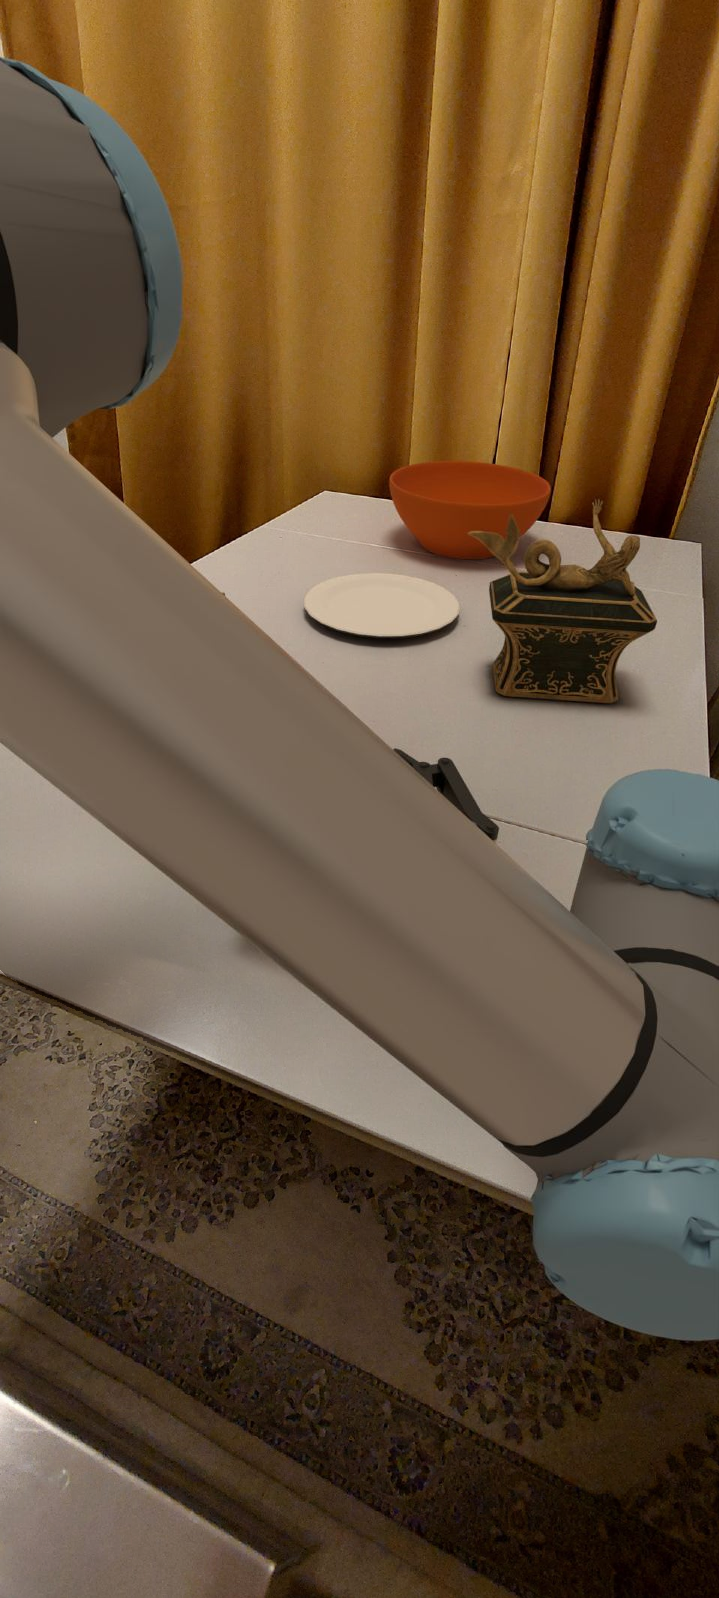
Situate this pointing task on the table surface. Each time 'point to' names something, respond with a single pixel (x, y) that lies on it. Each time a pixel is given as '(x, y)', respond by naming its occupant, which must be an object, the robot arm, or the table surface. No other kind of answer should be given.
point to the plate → (381, 605)
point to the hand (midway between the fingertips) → (291, 770)
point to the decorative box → (564, 618)
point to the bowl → (465, 503)
